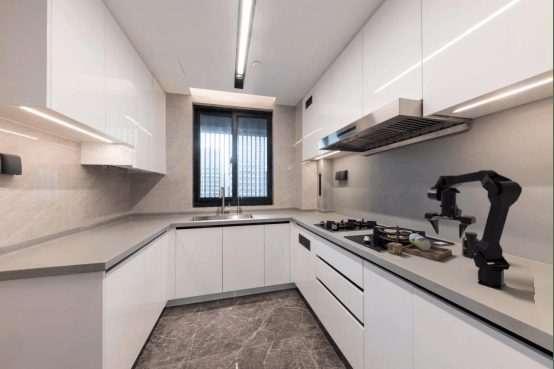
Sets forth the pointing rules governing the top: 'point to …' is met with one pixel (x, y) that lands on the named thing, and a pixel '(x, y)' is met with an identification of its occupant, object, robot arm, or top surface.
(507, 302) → the top surface
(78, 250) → the top surface
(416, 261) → the top surface
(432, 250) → the tray
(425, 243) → the beverage can
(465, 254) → the supplement bottle
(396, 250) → the letter block
